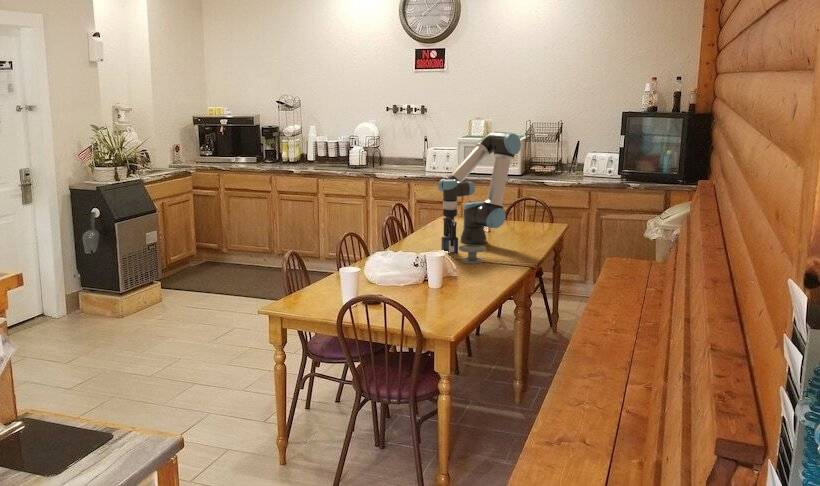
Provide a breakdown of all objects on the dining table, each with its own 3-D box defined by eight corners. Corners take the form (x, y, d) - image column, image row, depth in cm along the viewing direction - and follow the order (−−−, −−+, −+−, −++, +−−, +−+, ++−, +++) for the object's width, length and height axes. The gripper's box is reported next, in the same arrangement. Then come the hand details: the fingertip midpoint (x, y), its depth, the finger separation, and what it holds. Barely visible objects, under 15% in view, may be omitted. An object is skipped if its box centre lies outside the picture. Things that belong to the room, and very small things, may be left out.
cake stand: (479, 257, 390) (479, 243, 388) (490, 263, 377) (490, 249, 376) (454, 259, 386) (454, 245, 384) (464, 265, 373) (465, 251, 371)
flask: (440, 253, 400) (441, 233, 398) (441, 251, 403) (442, 232, 401) (457, 254, 398) (458, 234, 396) (458, 252, 401) (458, 233, 399)
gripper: (437, 206, 402) (437, 247, 407) (449, 211, 386) (449, 254, 391) (450, 205, 405) (450, 246, 410) (462, 210, 388) (462, 253, 393)
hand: (449, 250), depth 400 cm, fingers closed on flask, 5 cm apart
